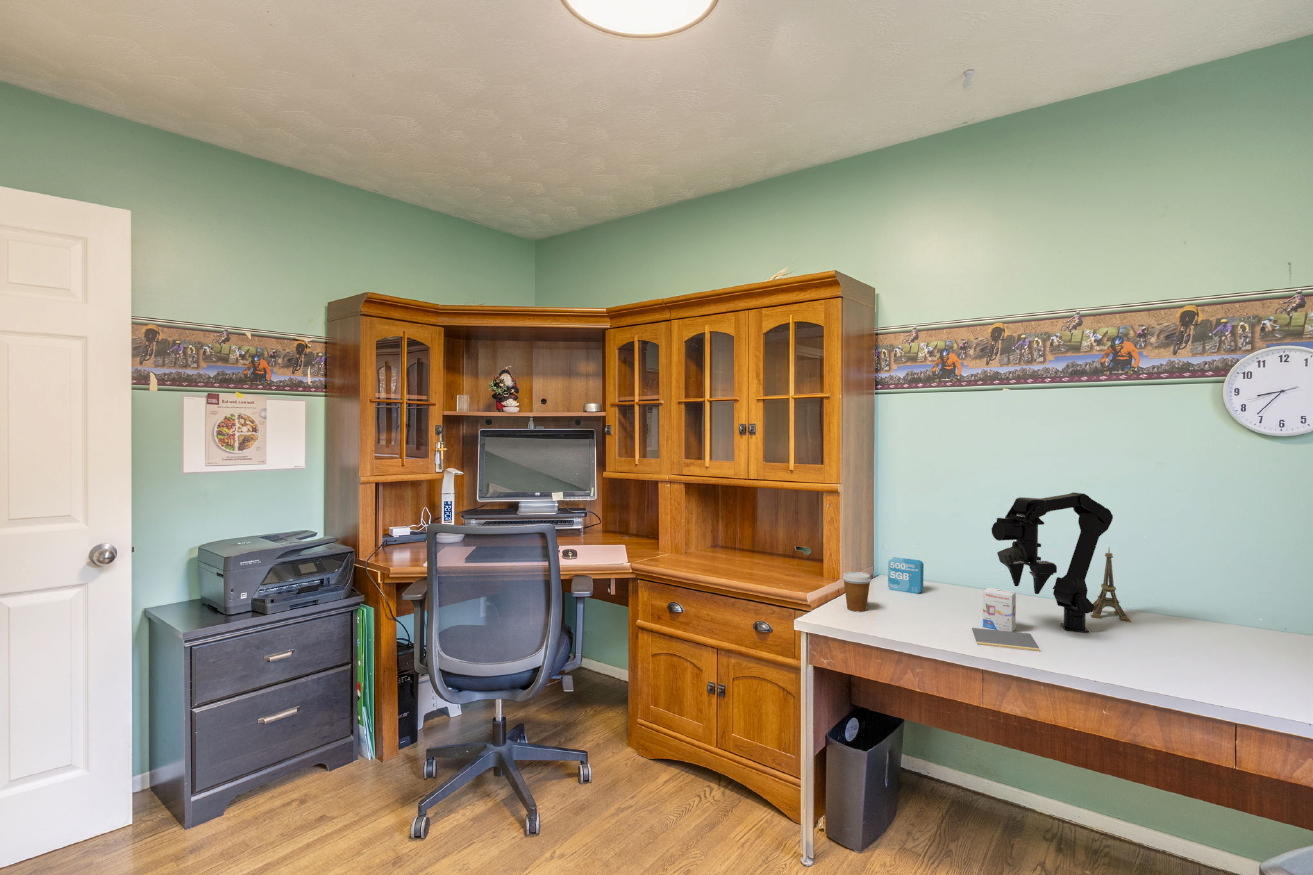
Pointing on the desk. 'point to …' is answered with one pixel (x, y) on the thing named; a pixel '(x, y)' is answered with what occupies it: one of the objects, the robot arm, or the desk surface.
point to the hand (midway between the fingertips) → (1026, 589)
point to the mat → (1005, 639)
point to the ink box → (999, 609)
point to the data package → (905, 575)
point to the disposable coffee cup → (856, 590)
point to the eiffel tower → (1102, 598)
